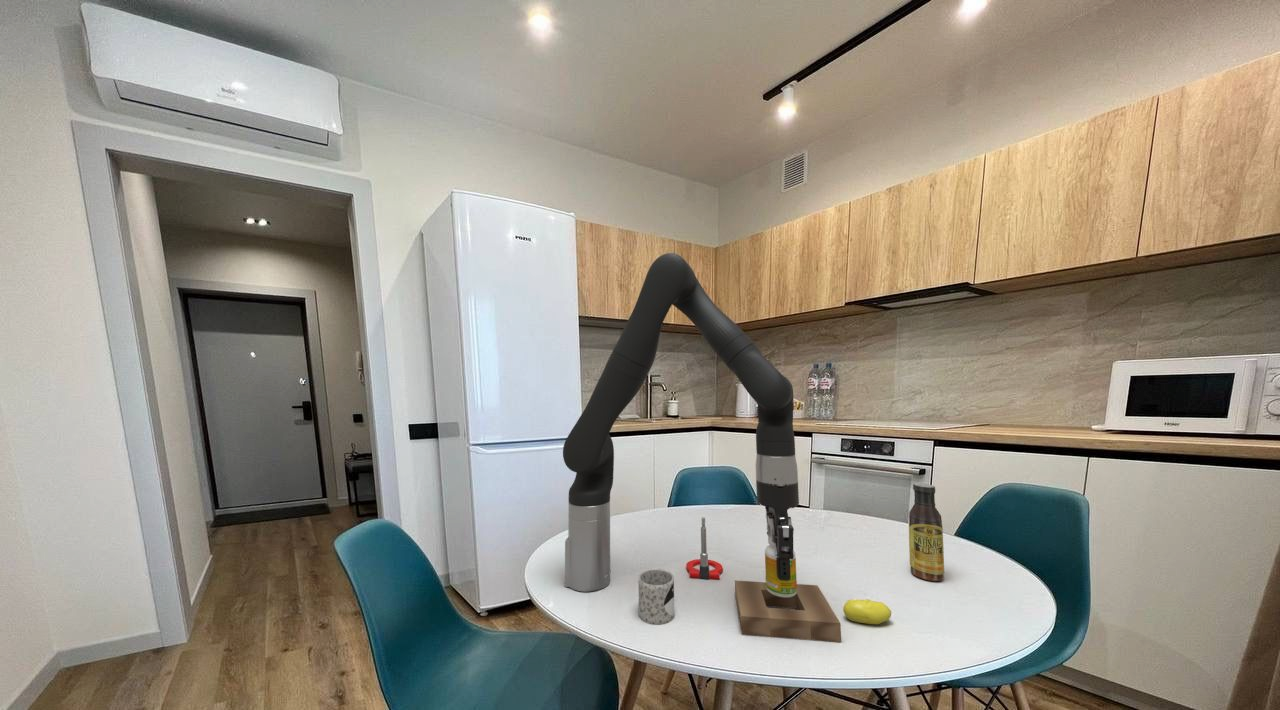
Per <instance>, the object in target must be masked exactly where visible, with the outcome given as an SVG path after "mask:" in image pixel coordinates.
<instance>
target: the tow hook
mask: <svg viewBox="0 0 1280 710" xmlns="http://www.w3.org/2000/svg"><path fill="white" fill-rule="evenodd" d="M700 548H701V551H700V554H699V555H700V556H699V557H700V558H699V559H698V558H697V559H692V560H689V561H687V563H686V564H685V568H686V570H687V572H688V573H689V574H688V575H689V578H693V579H694V578H696V579H704V580H709V579H710V580H712V579H713V580H720V577H721V574H722V572H723V571H724V568H723V565H722V564H721V563H720V562H718V561H715V560H711V559H708V558H709V555H708V552H707V549H708V548H707V527H706V517H704V516H702V517H701V527H700ZM695 566H698V568H699V569H698V568H695ZM710 566H711V567H713V568H714V569H710Z"/></svg>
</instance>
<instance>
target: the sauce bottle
mask: <svg viewBox="0 0 1280 710" xmlns="http://www.w3.org/2000/svg"><path fill="white" fill-rule="evenodd" d="M912 485H913V488H912V490H913V492H914V503H913V506H912V507H911V509H910V511H909V512H908V513H909V514H908V520H909V521H908V523H909V524H908V542H909V543H908V546H909V548H908V549H909V552H908V553H909V565H910V572H911V574H912V575H913V576H915V577H917V578H919V579H922V580H924V581H929V582H942V581H943V580H944V574H945V556H944V554H945V551H944V549H945V548H944V530H943V521H942V515H941V513H940V512H939V511H938V509H937V507H936V503H935V501H936V499H935V498H936V497H935V493H936V487H935V485H933V484H929V483H922V482H914V483H913V484H912Z"/></svg>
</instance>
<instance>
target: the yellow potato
mask: <svg viewBox="0 0 1280 710" xmlns="http://www.w3.org/2000/svg"><path fill="white" fill-rule="evenodd" d="M842 612H843V613H844V615H845V617H846V618H847V620H850V621H852V622H856V623H861V624H868V625H875V626H876V625H879V624H881V623H884V622H887V621H889V620H890V619H891V616H892V610H891V609H890V608H889V607H888V606H887V605H886V604H885V603H883V602H881V601H876V600H871V599H867V598H866V599H854V598H853V599H848V600H847V601H846V602H845V603H844V605H843V611H842Z"/></svg>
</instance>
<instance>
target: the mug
mask: <svg viewBox="0 0 1280 710" xmlns="http://www.w3.org/2000/svg"><path fill="white" fill-rule="evenodd" d="M638 618H639V619H640V620H641V621H642V622H644V623H645V624H648V625H652V626H653V625H655V626H662V625H666V624H669V623H670V622H672V621H673V620H674V619H675V578H674V575H673V574H672V573H671V572H670V571H667V570H664V569H660V568H659V569H650V570H645V571H642V572H641V573H640V574H639V575H638Z"/></svg>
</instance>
